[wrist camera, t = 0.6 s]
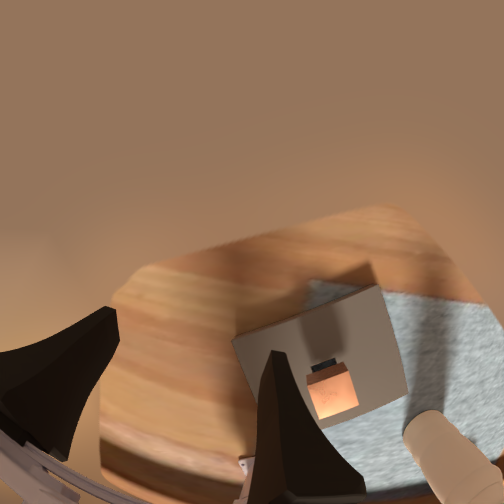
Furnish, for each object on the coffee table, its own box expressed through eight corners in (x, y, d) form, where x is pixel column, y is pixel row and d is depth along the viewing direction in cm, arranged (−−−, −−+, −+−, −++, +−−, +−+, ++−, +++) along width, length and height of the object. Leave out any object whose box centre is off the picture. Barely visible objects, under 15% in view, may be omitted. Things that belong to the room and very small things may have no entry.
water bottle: (434, 399, 28) (533, 489, 3) (446, 425, 27) (529, 511, 2) (394, 429, 28) (464, 547, 4) (410, 453, 27) (470, 558, 3)
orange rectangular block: (348, 382, 27) (359, 404, 21) (315, 394, 28) (319, 419, 22) (338, 353, 28) (348, 370, 22) (304, 365, 28) (307, 386, 22)
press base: (401, 385, 29) (408, 393, 26) (275, 432, 31) (274, 442, 28) (371, 283, 31) (378, 284, 29) (236, 335, 33) (231, 340, 30)
